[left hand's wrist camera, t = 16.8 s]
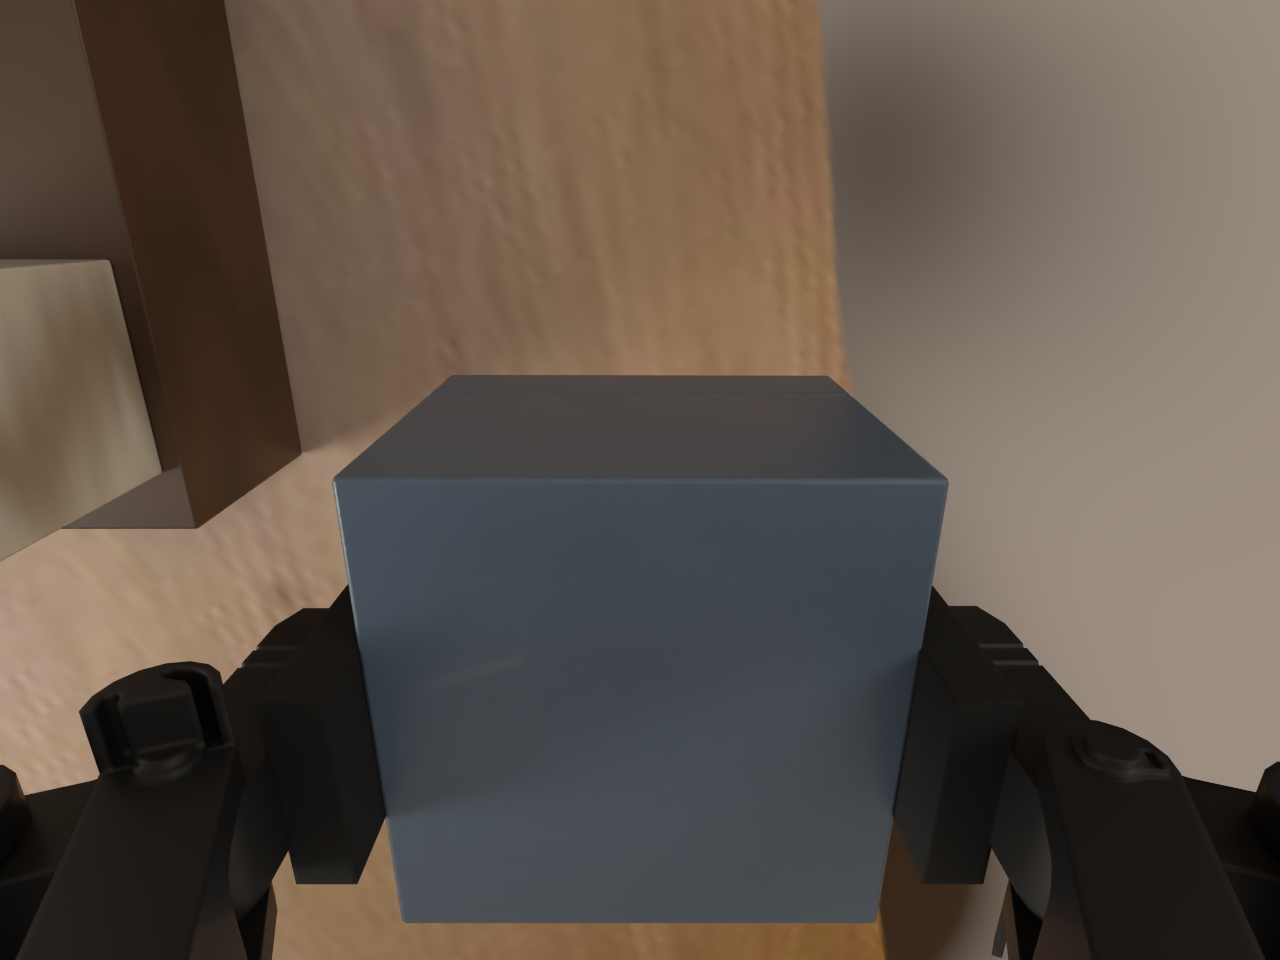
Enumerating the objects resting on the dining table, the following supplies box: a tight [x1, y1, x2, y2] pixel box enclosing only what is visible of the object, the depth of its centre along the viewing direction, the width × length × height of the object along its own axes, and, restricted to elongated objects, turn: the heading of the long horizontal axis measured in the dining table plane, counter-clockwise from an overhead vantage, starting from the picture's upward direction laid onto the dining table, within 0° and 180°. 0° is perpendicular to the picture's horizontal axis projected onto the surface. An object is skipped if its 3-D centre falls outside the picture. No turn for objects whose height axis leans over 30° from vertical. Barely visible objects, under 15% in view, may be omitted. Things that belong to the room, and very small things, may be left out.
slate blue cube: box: [332, 375, 949, 923], centre depth 12 cm, size 7×7×6 cm
